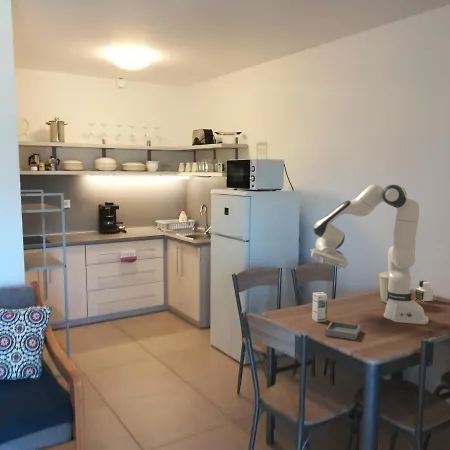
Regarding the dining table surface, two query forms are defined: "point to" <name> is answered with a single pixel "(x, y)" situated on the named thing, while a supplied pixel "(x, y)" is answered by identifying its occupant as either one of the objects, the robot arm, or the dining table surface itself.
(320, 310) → the syrup box
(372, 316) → the dining table surface
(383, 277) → the canister
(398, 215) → the robot arm
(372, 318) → the dining table surface
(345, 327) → the tray
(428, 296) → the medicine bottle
